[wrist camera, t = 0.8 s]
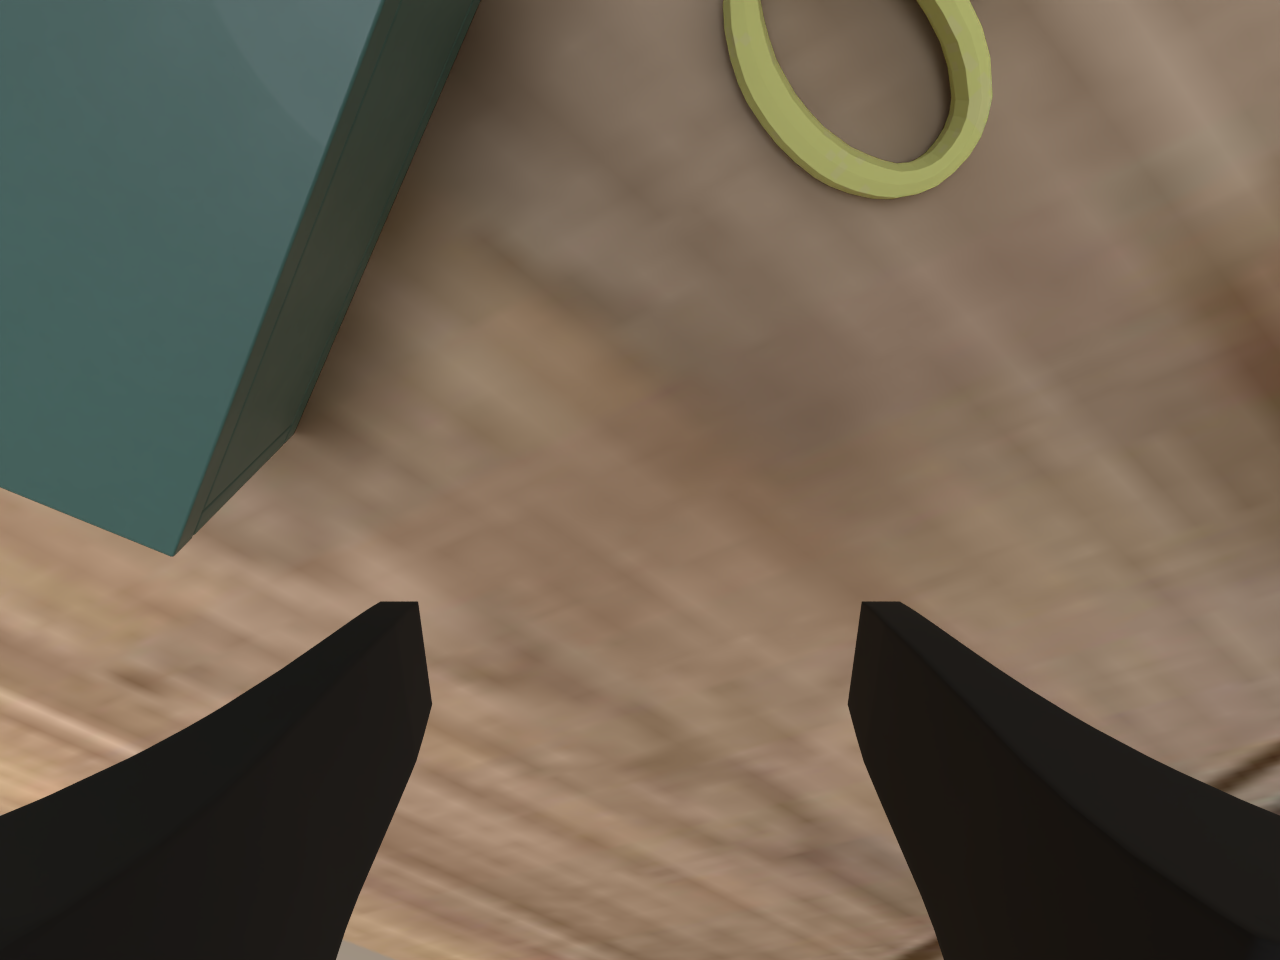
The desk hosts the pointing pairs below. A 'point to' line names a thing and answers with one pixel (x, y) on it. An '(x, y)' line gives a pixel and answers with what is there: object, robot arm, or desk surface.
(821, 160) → the key
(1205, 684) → the desk surface
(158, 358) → the cabinet
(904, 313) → the desk surface
